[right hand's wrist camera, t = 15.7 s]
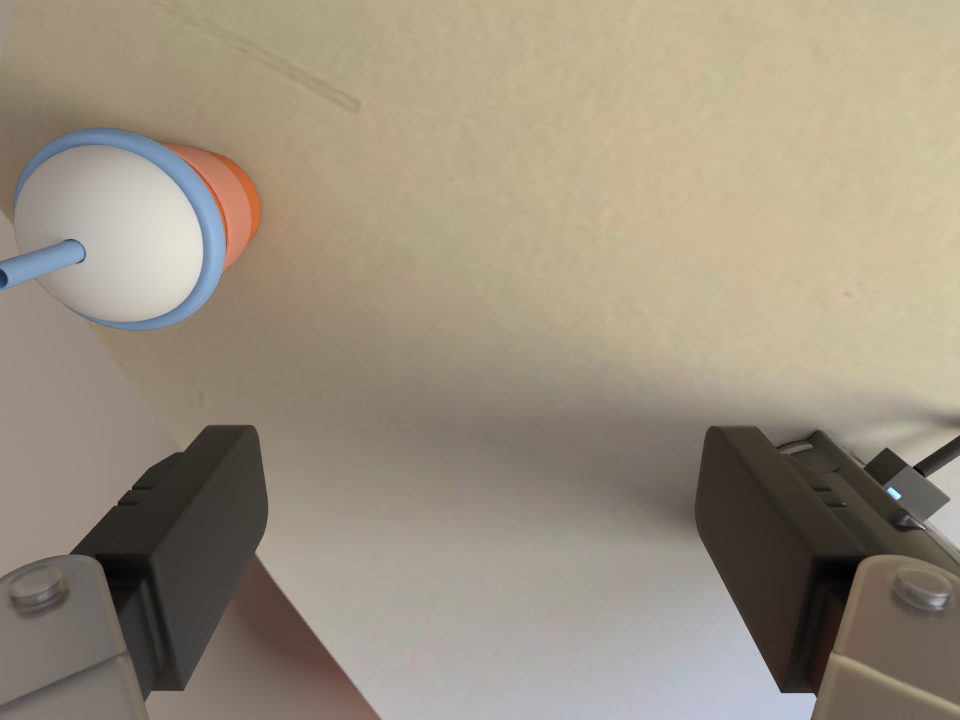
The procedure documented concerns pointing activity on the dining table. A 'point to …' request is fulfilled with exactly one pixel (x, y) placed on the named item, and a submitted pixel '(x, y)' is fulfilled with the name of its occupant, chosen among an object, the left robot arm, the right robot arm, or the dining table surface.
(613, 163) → the dining table surface
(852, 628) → the right robot arm
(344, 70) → the dining table surface
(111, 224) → the cup with straw
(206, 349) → the dining table surface
